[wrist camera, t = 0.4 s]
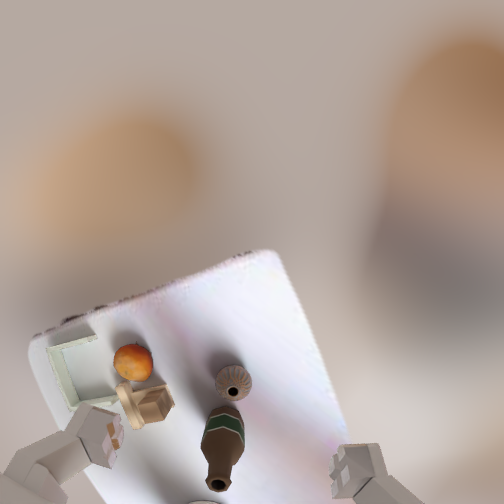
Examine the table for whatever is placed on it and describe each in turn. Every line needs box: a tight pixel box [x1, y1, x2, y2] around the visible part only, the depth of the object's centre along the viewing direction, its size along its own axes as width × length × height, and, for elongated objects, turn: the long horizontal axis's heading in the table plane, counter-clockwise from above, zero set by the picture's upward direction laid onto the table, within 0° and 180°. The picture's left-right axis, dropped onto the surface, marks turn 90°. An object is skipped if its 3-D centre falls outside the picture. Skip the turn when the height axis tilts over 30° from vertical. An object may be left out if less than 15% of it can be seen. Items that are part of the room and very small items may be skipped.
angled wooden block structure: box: [115, 381, 175, 430], centre depth 54 cm, size 10×10×10 cm
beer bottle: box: [201, 406, 245, 492], centre depth 46 cm, size 8×8×24 cm
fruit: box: [113, 341, 153, 382], centre depth 56 cm, size 8×8×8 cm
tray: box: [46, 334, 119, 412], centre depth 56 cm, size 15×12×4 cm
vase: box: [216, 365, 252, 401], centre depth 55 cm, size 7×7×9 cm
